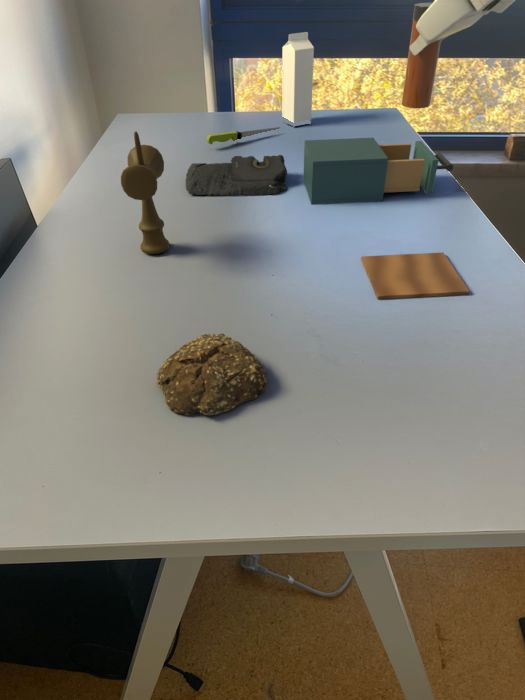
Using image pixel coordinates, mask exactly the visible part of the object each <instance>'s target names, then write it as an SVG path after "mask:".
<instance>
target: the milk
mask: <svg viewBox="0 0 525 700" xmlns="http://www.w3.org/2000/svg"><path fill="white" fill-rule="evenodd" d="M281 50H282V53H281V54H282V58H281V59H282V61H281V62H282V65H281V66H282V67H281V70H282V71H281V73H282V74H281V79H282V80H281V82H282V83H281V84H282V85H281V86H282V87H281V89H282V90H281V92H282V93H281V94H282V95H281V100H282V101H281V116H282V117H284V118H286V119H288V120H289V121H291V122H293V123H296V122H301V121H305V120H311V121H312V110H313V86H314V85H313V84H314V83H313V80H314V55H315V46H314V45H313V44H312V42H311V41H310V40H309V32H308V31H304V32H303V31H302V32H296V33H295V32H294V33H289V34H288V40H287V42H286V43H284V45H283V46H282V48H281ZM282 117H281V118H282Z"/></svg>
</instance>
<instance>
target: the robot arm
mask: <svg viewBox="0 0 525 700" xmlns="http://www.w3.org/2000/svg"><path fill="white" fill-rule="evenodd" d="M515 2H516V0H433V2H431V3H432V4H431V5H430V7H429V8H428V9H427V10H426V11H425V12H424V14H423V15H422V16H421V17H420V19H419V20H418V22H417V24H416V28H417V30H418V32H419V33H420V35H419V37H418V38H417V40H416V41H415V42H414V43H413V44H412V45H411V46H410V50H411V52H412V53H413V55H418V54H420V53H421V52H422V51H423V50H424V49H425V48H426V47H427V46H428V45H429V44H431V43H433V42H435V41H437V40H440V39H441V42H442V41H443V40H445V39H447V38H448V37H450V36H451V35H453V34H456V33H458V32H460V31H462V30H466V29H467V28H469V27H472V26H473V25H474V24H476V23H477V22H478V21H479V20H480V19H481V18H482V17H484V16H486V15H488V14H489V13H490V12H495V13H497V14H502V13H503V12H504V11H506V10H507V9H508V8H509V7H510V6H511V5H513V3H515Z"/></svg>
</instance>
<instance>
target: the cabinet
mask: <svg viewBox="0 0 525 700" xmlns="http://www.w3.org/2000/svg"><path fill="white" fill-rule="evenodd" d="M379 145H380V144H379V143H378V142H377V141H376V139H375V138H374V137H353V138H328V139H304V148H303V149H304V150H303V151H304V152H303V177H302V181H303V180H304V181H303V183H304V186H305V190H306V193H307V196H308V199H309V202H310V204H311V205H324V204H327V205H328V204H347V203H348V204H349V203H369V202H371V203H372V202H383V200H384V194H385V193H384V187H385V179H386V172H387V165H388V157H387V156H386V154H385V153H384V152H383V150H382V149H381V148H380V146H379Z"/></svg>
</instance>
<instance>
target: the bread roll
mask: <svg viewBox="0 0 525 700" xmlns="http://www.w3.org/2000/svg"><path fill="white" fill-rule="evenodd" d="M264 369H265V366H264V364H263V363H261V360H259V359H258V358H257V357H256V355H255V354H254V353H252V352H251V350H250V349H249V348H247V347H246V346H244V345H243V344H242V342H240V341H238V340H235V339H232V337H231V336H227V335H225V334H224V333H218V334H215V333H212V334H211V333H205V334H202V335H199V336H198V337H196V338H194V339H192V340H191V341H189V342H186V343H184V345H182V346H181V347H180V348H179V349H178V350H176V351H175V352H174V353H172V354H169V357H168V358H167V359H166V360H165V361H164V362H163V363H162V365H161V366H160V368H159V369H158V372H157V373H156V381H155V383H156V385H157V387H158V388H159V390H161V392H162V393H163V396H164V397H165V403H166V405H167V407H168V409H169V410H170V411H171V412H172V413H176V414H181V415H186V416H191V415H194V414H197V413H199V414H202V415H204V416H214V415H215V416H217V415H219V414H221V413H226V412H230V411H231V410H233V409H235V408H236V407H238V406H239V405H241V404H243V403H246V402H247V401H254V400H256V399H258V398H259V396H260V394H261V393H263V392H264V391H265V389H266V385H267V372H266V371H265V370H264Z"/></svg>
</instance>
